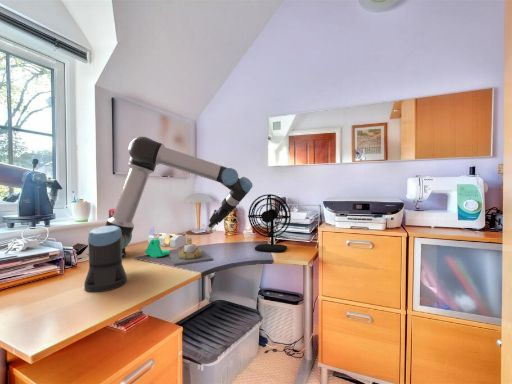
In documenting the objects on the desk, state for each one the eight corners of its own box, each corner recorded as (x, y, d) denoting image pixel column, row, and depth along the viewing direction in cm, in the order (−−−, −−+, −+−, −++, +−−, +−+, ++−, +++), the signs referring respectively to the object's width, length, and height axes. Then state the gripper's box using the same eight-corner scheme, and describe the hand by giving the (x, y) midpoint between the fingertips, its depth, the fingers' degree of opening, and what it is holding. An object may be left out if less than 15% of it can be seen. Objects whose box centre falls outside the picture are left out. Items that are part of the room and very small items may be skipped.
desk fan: (245, 251, 156) (244, 194, 155) (254, 245, 173) (253, 193, 172) (289, 254, 148) (288, 194, 147) (293, 247, 165) (293, 193, 164)
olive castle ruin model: (201, 257, 139) (201, 243, 139) (178, 259, 135) (178, 244, 135) (199, 250, 155) (199, 237, 155) (178, 252, 151) (178, 238, 151)
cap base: (212, 260, 138) (212, 247, 138) (174, 265, 130) (174, 251, 129) (203, 251, 156) (202, 240, 156) (169, 256, 148) (168, 244, 147)
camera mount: (170, 255, 150) (170, 237, 150) (160, 258, 143) (160, 240, 143) (155, 253, 155) (155, 236, 155) (145, 256, 148) (145, 238, 148)
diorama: (148, 245, 176) (147, 226, 176) (159, 242, 185) (159, 224, 185) (175, 249, 165) (175, 229, 165) (186, 245, 174) (186, 226, 174)
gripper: (227, 207, 128) (202, 237, 137) (242, 206, 139) (218, 233, 149) (219, 197, 131) (195, 226, 140) (234, 196, 142) (211, 223, 151)
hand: (207, 230), depth 144 cm, fingers closed
